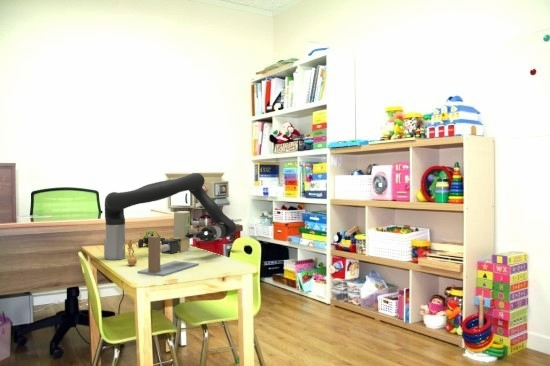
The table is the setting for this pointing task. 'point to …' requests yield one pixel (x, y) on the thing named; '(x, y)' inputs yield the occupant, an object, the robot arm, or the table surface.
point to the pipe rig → (154, 260)
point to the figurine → (132, 260)
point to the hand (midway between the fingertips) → (193, 237)
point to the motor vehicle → (141, 242)
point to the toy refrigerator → (182, 224)
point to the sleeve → (181, 244)
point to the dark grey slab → (172, 246)
